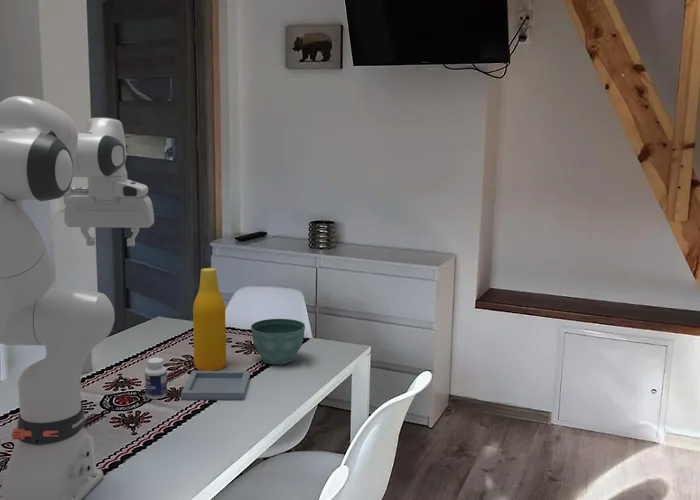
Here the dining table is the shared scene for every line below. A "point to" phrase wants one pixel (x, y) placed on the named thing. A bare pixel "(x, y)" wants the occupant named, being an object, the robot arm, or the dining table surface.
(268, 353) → the flower pot
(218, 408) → the dining table surface
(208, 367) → the beer bottle
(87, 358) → the cup
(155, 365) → the pill bottle
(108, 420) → the dining table surface
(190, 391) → the dish
